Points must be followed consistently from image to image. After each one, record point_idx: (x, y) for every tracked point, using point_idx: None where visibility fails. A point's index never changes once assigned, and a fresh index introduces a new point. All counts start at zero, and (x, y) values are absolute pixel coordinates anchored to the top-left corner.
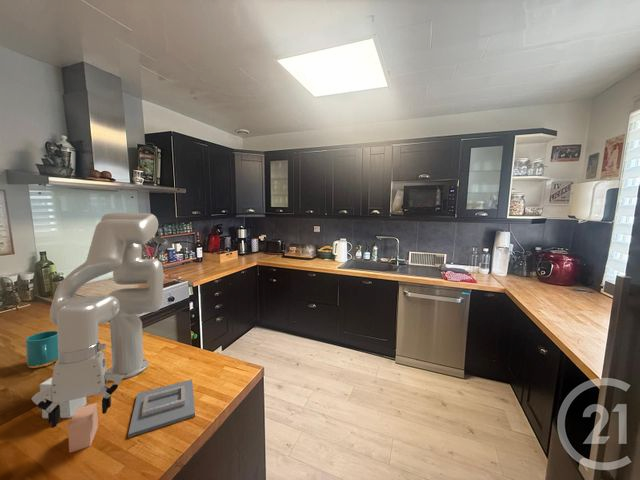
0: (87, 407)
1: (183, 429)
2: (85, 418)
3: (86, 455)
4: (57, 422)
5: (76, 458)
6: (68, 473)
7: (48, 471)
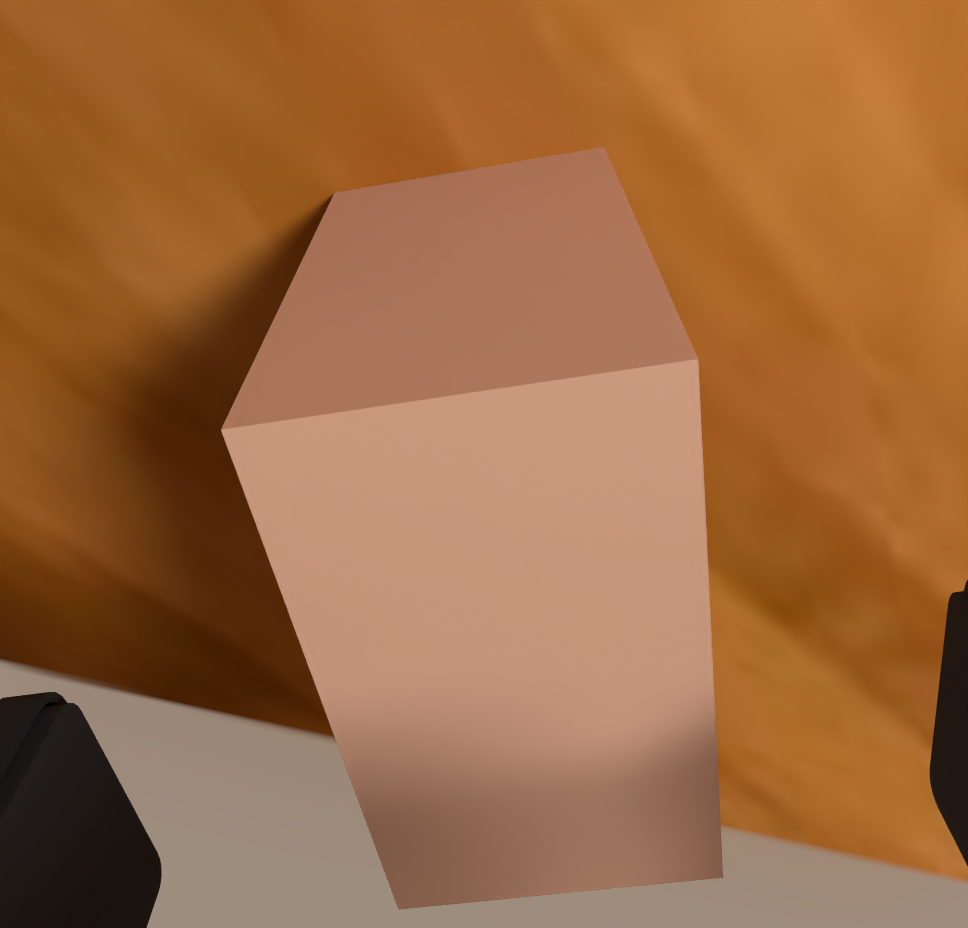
0: (506, 500)
1: None
2: (629, 822)
3: None
4: (122, 823)
5: None
6: None
7: None
